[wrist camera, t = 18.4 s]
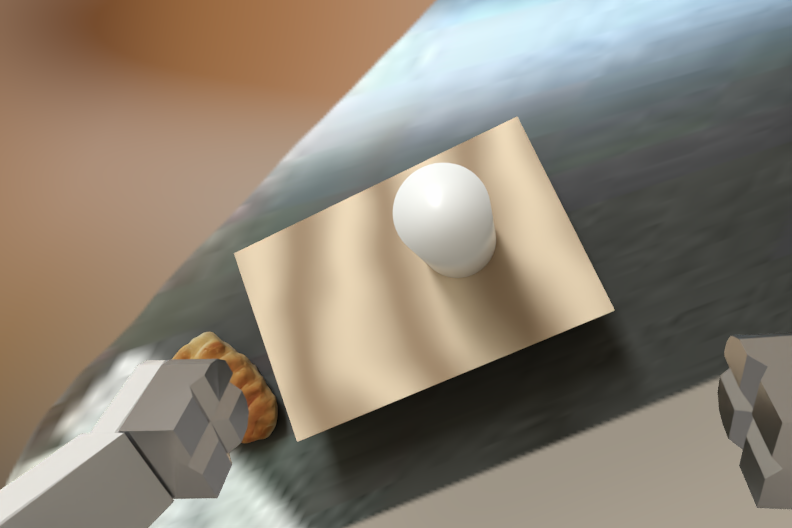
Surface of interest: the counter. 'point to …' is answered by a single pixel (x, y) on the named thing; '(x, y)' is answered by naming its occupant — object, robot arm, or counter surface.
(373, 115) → the counter surface
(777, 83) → the counter surface
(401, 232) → the white rounded block
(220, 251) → the counter surface
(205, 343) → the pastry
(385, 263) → the wooden board
